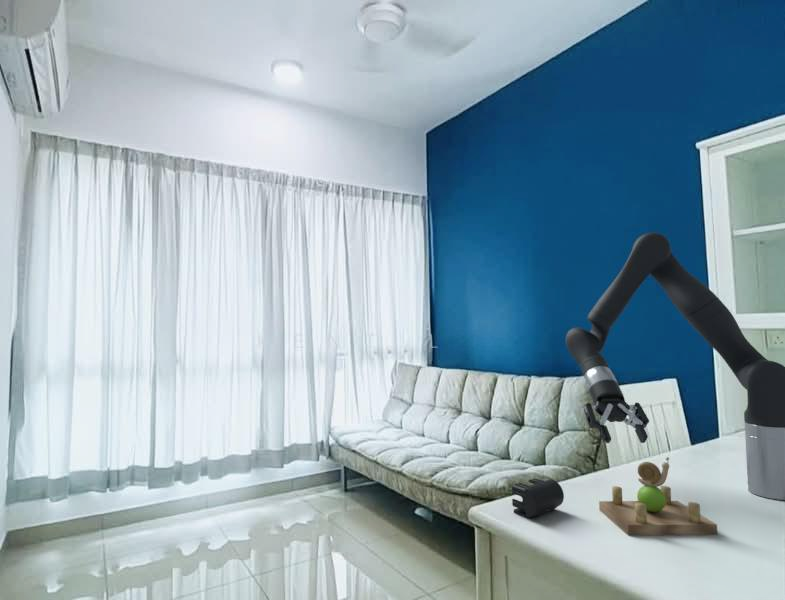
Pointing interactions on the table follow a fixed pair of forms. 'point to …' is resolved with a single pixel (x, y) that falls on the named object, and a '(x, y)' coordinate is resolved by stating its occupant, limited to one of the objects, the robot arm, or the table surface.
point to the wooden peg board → (656, 516)
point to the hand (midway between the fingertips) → (626, 441)
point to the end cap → (537, 497)
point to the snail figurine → (652, 485)
